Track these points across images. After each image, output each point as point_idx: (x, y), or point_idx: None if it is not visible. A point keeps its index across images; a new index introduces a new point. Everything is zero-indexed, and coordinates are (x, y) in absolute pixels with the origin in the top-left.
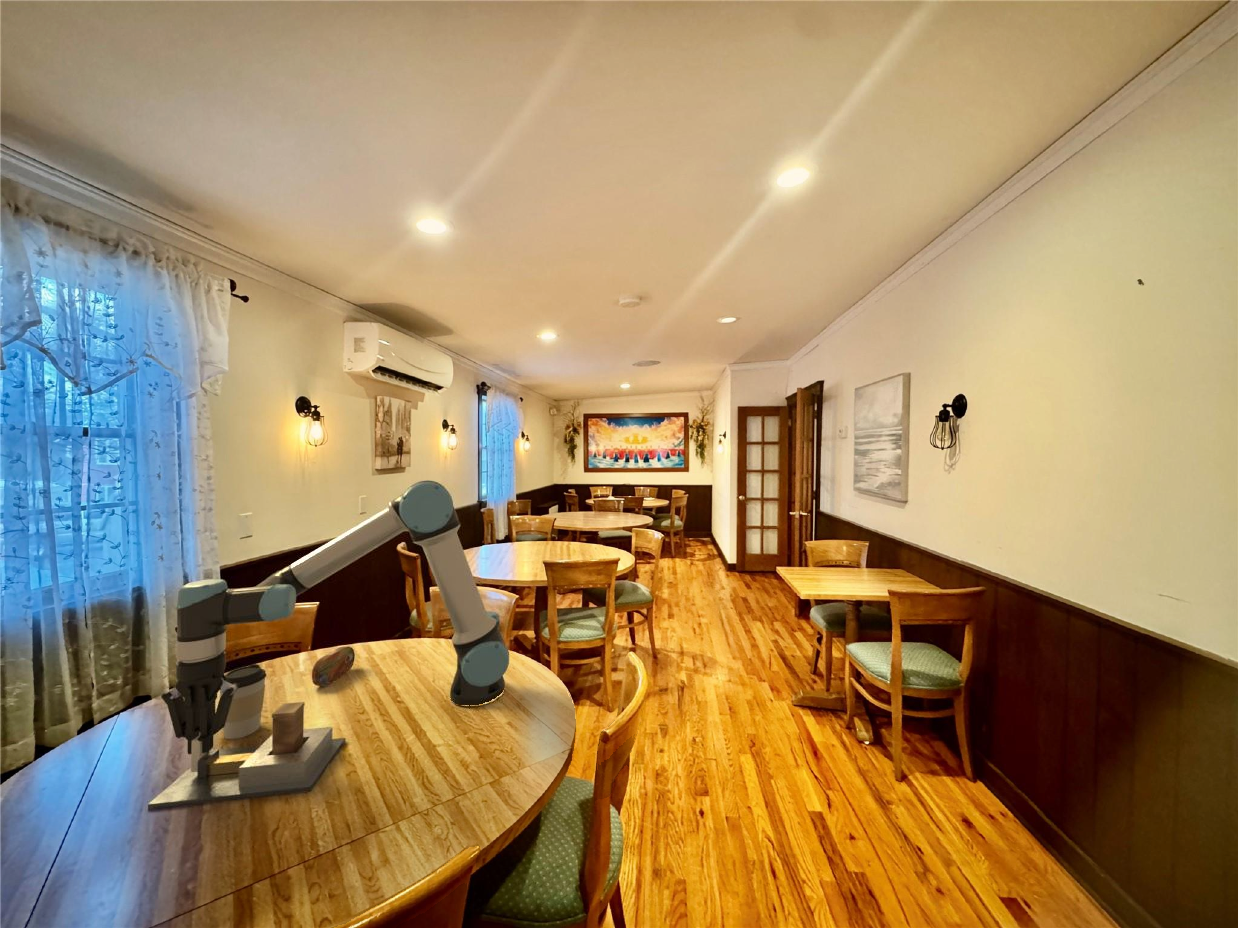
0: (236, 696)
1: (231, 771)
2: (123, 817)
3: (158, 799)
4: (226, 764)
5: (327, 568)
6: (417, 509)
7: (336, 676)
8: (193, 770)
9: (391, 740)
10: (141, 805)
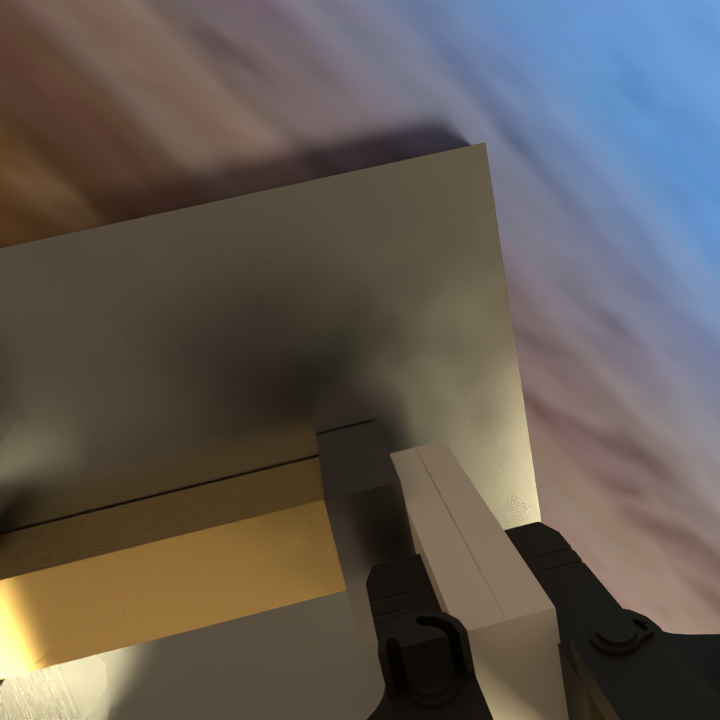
0: None
1: (158, 499)
2: (571, 64)
3: (455, 195)
4: (187, 522)
5: None
6: None
7: None
8: (429, 448)
9: None
10: (557, 183)
